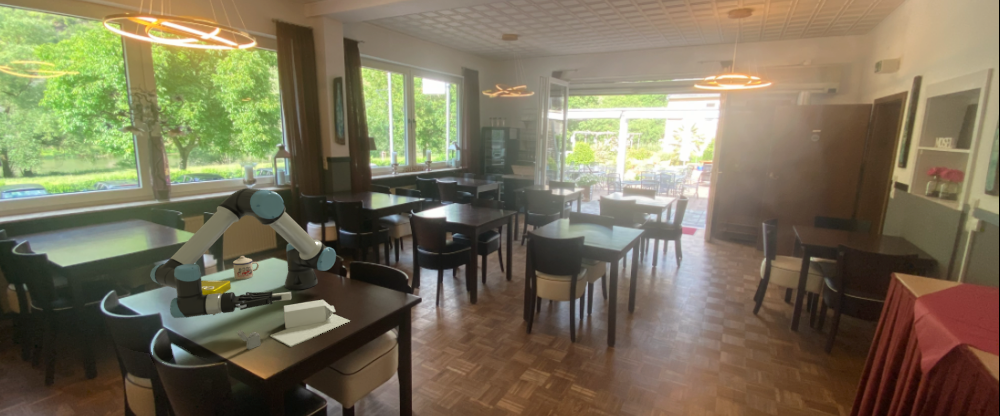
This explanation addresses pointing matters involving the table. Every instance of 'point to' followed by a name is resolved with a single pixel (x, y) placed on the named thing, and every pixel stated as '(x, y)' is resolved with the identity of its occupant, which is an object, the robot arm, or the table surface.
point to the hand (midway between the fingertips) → (290, 295)
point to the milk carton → (307, 313)
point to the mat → (308, 331)
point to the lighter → (250, 339)
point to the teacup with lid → (243, 268)
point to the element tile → (215, 287)
